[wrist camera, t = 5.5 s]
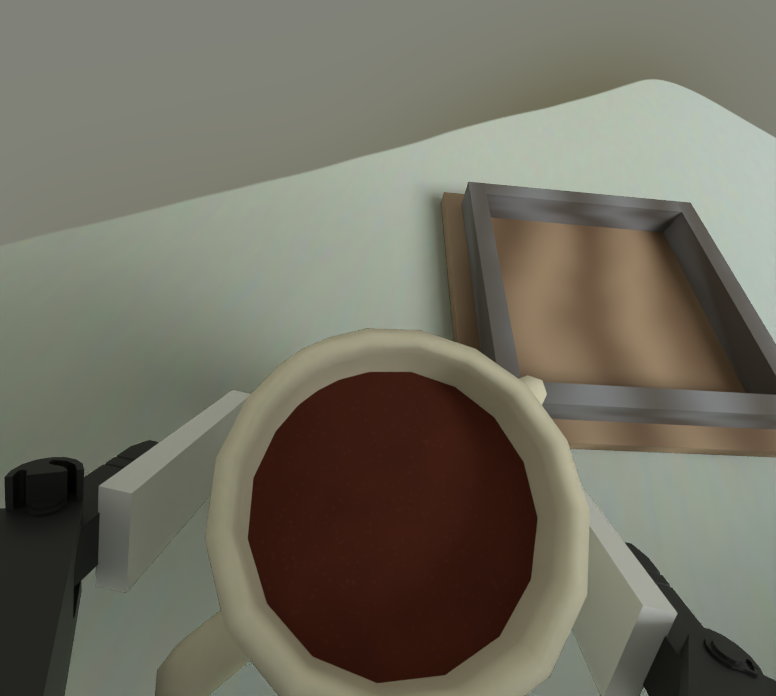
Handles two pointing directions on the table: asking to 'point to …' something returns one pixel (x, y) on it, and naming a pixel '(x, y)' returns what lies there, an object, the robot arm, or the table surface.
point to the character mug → (390, 528)
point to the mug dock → (613, 318)
